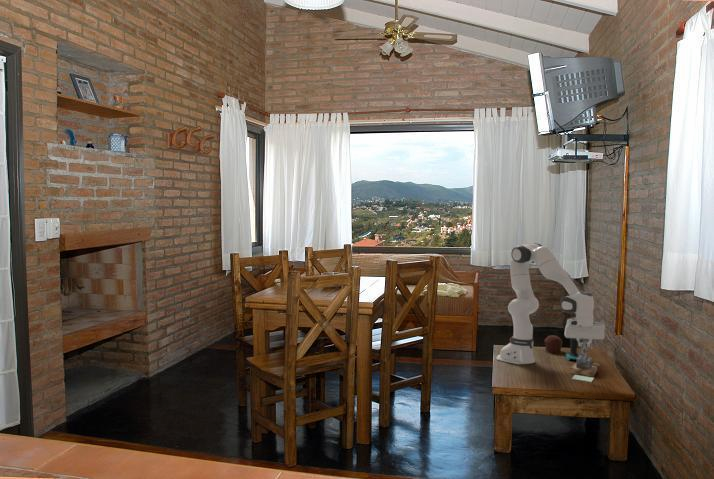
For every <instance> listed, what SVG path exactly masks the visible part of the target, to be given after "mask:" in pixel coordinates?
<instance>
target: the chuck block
mask: <svg viewBox="0 0 714 479" xmlns="http://www.w3.org/2000/svg"><path fill="white" fill-rule="evenodd" d="M598 367H600V363H597V362H593V358H592V357H589V356H586V363H583V362H581V356H579V357H578V358H577V359H576V362H575V363H574V364H572V366H571V367H570V374H573V375H580V376H586V377H593V378H594V376H596V374H597V372H598Z"/></svg>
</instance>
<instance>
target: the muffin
mask: <svg viewBox="0 0 714 479" xmlns="http://www.w3.org/2000/svg"><path fill="white" fill-rule="evenodd" d="M543 341H544V345H545V346H544V347H545V351H546V352H548V353H552V354H558V353H561V351H562V346H563V343H564V341H563V340H562V339H561V338H560V337H559V336H558V335H554V334H553V335H551V334H550V335H548V336H547V337H546V338H545V339H544V340H543Z"/></svg>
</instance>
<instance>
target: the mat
mask: <svg viewBox="0 0 714 479" xmlns="http://www.w3.org/2000/svg"><path fill="white" fill-rule="evenodd" d="M571 380H576V381H582V382H587V383H592V382H593V380H595V377H594V376H593V377H592V376H585V375H579V374H573V376H572V378H571Z"/></svg>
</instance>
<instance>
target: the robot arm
mask: <svg viewBox="0 0 714 479" xmlns="http://www.w3.org/2000/svg"><path fill="white" fill-rule="evenodd" d="M510 256H511V259H510V263H509V271H510V272H509V273H510V281H511V288H512V290H513V291H514V292H515V294H516V297H517V298H514V299H512V300H510V302H509V303H508V306H507V310H508V311H507V312H508V313H509V314H510V315H511V317H512V319H511V320H512V323H513V335H512V336H511V337H510V338H509V342H508V343H507V344H506V345H504V347H502V348H501V350H500V352H499V353H500V354H498V355H497V356H496V360H497V361H501V362H505V363H510V364H515V365H529V364H534V363H535V362H536V361H535V357H534V350H533V348H534V337H533V335H534V331H533V330H534V326H533V324H532V323H531V319H530V315H532V314H534V313H535V312H536V311H537V310H538V309H539V306H540V302H539V300H538V299H537V297H536V296H535V294H534V291H533V288H532V283H531V276H530V270H529V268H530V267H529V266H530V264H531V263H532V264H534V263H535V264H536V266H537V268H538V269H539V272H540V273H541V274H542V276H543V277H544V278H545V279H546V280H551V281H555V282H557V283H558V284H560V285H562V286H563V288H564V289H565V291H566V292H567V294H568V295H566V296H563V297H562V298H561V299H560V301H559V308H560V309H561V311H562V312H564V313H565V314H575V317H572V318H571V317H570V318H571V319H568V318H567V319H568V320H567V319H566V322H567V323H568V324H567V325H565V327H564V333H563V334H564V337H565V338H566V339H571V338H577V341H578V347H579V348H580V347H581V348H582V342H580V341H581V340H582V339H583V340H584V339H585V340H588V342H586V343H587V348H590V346H591V343H592V342H593V340H601V341H602V340H604V339H605V336H606V335H605V330H606V324H605V323H604V322H602V321H594V309H595V308H594V307H595V302H594V300H595V299H594V296H593V294H592V293H591V292H589V291H586V290H581V289H580V288H579V287H578V286H577V284H576V283H575V281H574V280H573V279H572V277H571V276H570V275H569V273H568V272H567V271H566V270H565V269H564V268H563V267H562V265H561V264H560V263H559V261H558V260H557V258H556V256H555V255H554V253H553V252H552V251H551V249H549V247H547V246H545V245H541V244H540V243H536V242H534V243H525V244H519V245H516V246H514V247H513V248H512V249H511V253H510Z"/></svg>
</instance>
